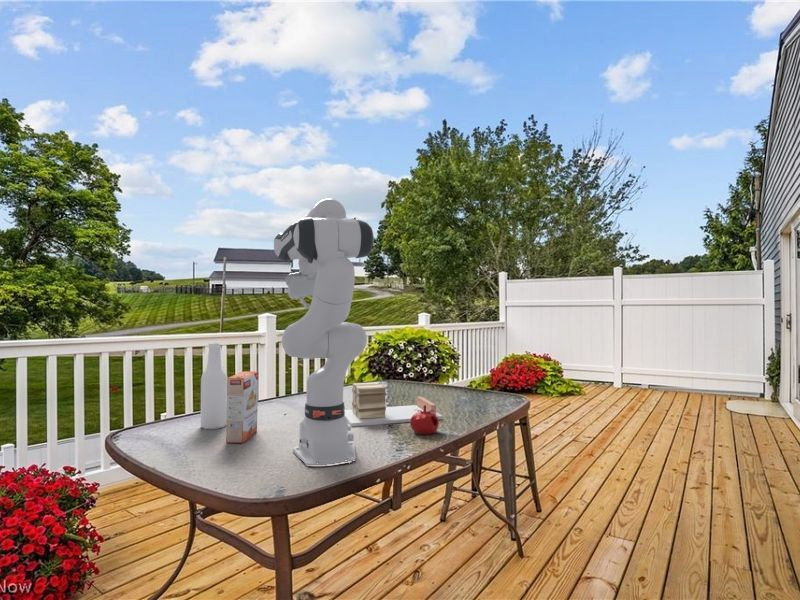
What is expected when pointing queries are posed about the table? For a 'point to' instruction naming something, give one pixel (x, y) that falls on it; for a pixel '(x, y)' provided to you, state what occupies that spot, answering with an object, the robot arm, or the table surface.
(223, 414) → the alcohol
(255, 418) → the cracker box
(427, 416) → the red apple
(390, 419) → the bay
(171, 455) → the table surface
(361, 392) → the crate
